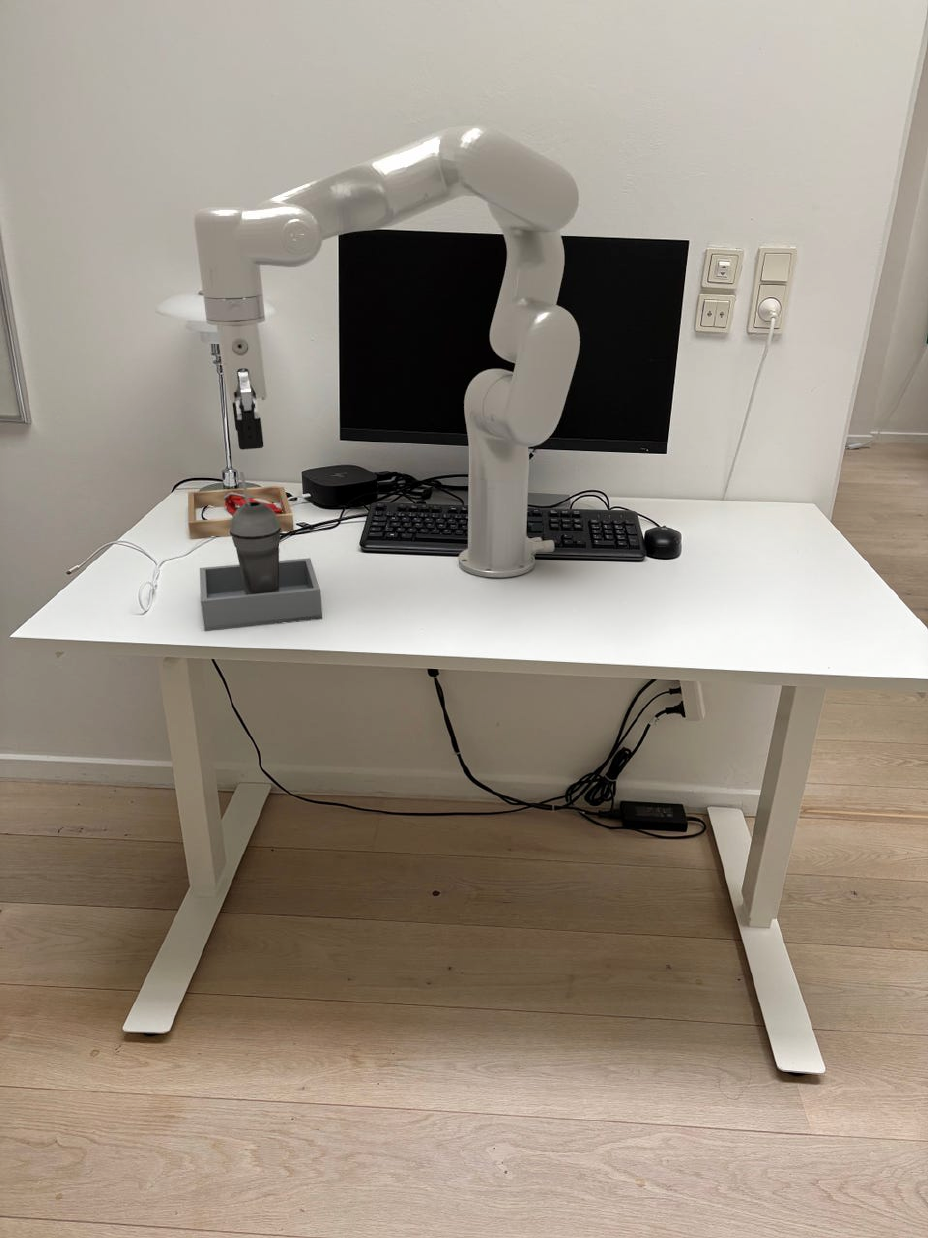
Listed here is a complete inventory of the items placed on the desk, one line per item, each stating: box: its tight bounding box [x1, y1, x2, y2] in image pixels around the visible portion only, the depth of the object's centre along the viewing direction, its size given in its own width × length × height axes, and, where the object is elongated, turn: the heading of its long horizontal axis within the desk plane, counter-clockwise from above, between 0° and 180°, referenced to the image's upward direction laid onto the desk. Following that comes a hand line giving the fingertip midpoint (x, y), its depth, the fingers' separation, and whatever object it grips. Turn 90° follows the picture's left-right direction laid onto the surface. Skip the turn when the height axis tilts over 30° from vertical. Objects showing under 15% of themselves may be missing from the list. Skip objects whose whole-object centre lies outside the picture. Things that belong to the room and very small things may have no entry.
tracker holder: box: [223, 492, 283, 516], centre depth 180 cm, size 12×4×10 cm
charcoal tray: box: [199, 558, 323, 632], centre depth 142 cm, size 17×13×5 cm
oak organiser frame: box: [187, 485, 295, 540], centre depth 178 cm, size 18×18×3 cm
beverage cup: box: [230, 471, 281, 595], centre depth 139 cm, size 7×7×20 cm
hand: (249, 438), depth 132 cm, fingers open, 9 cm apart
